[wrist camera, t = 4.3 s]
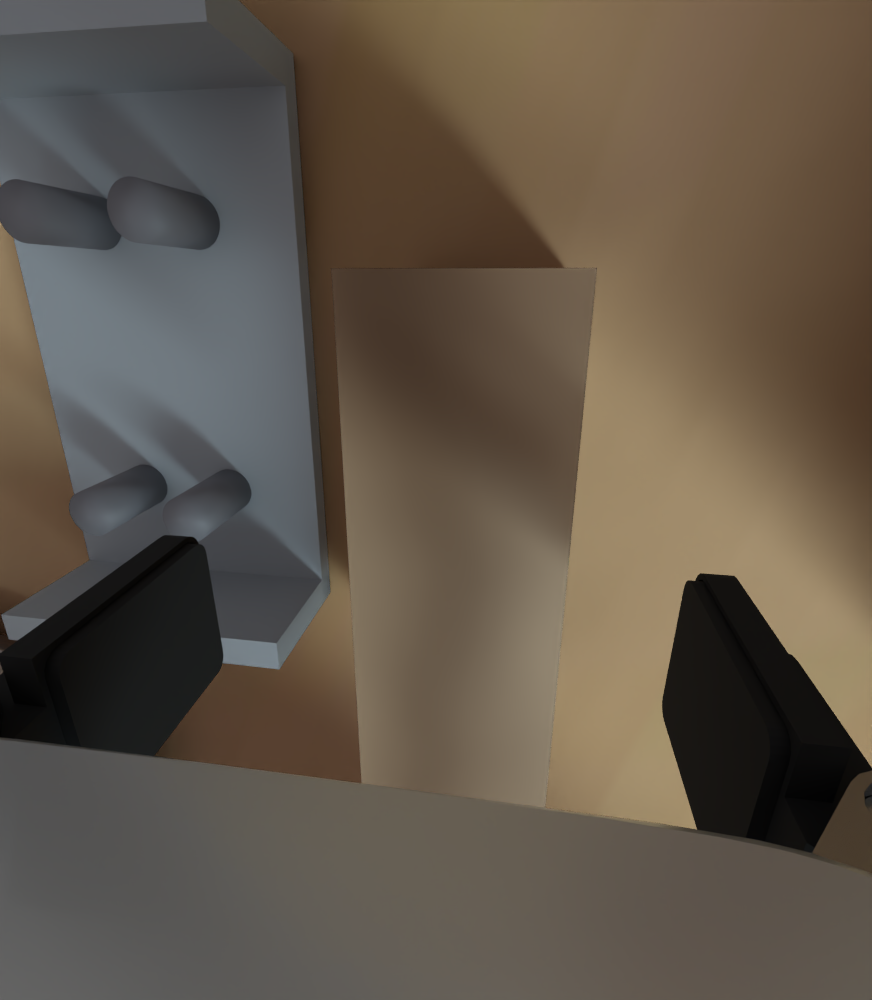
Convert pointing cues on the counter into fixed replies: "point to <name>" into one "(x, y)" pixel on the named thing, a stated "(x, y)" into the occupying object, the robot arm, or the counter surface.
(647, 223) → the counter surface
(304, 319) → the peg frame
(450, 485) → the brown wooden block
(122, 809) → the robot arm
